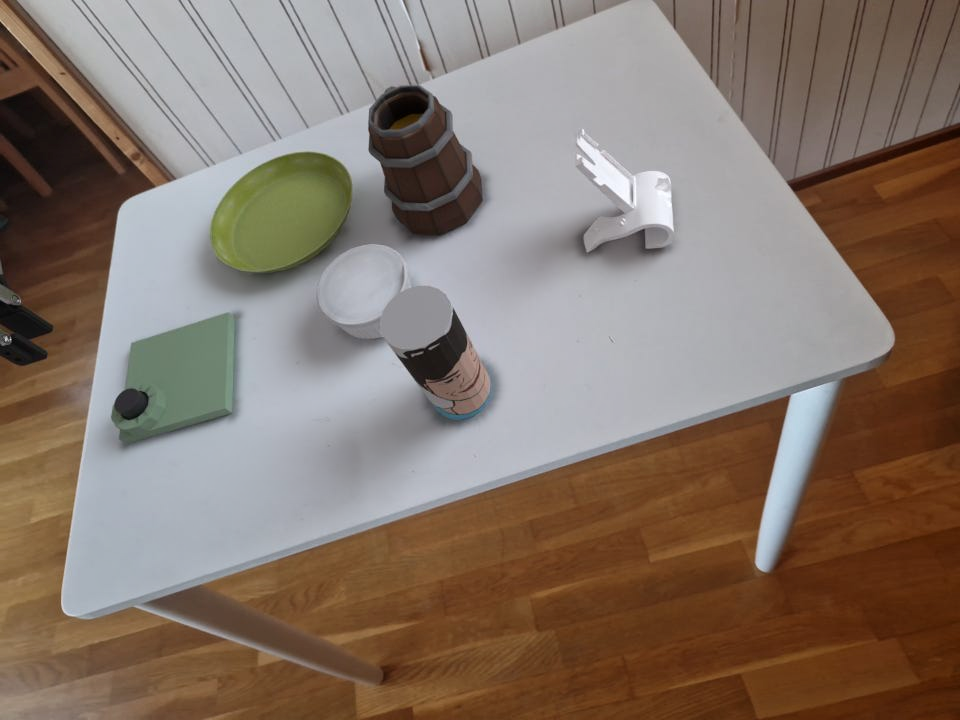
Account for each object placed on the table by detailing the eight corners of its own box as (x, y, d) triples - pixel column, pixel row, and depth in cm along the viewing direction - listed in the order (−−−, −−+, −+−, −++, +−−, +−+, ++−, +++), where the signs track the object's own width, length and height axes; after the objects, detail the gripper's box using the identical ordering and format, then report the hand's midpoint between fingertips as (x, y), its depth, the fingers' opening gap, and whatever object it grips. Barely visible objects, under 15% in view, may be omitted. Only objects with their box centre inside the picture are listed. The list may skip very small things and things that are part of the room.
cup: (453, 432, 70) (403, 363, 57) (420, 389, 73) (366, 316, 61) (504, 392, 70) (466, 317, 58) (469, 352, 74) (426, 272, 61)
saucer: (254, 313, 85) (240, 299, 82) (204, 224, 96) (190, 209, 94) (387, 222, 87) (378, 205, 84) (323, 145, 98) (313, 128, 95)
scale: (232, 413, 78) (217, 402, 76) (126, 444, 80) (108, 435, 78) (235, 317, 86) (221, 304, 83) (138, 348, 88) (121, 336, 85)
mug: (497, 209, 83) (464, 114, 71) (410, 250, 84) (361, 163, 71) (457, 135, 92) (421, 38, 79) (377, 173, 92) (329, 83, 80)
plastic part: (673, 247, 74) (674, 173, 64) (583, 254, 76) (570, 183, 67) (671, 195, 77) (670, 117, 68) (584, 203, 80) (572, 129, 70)
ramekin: (404, 354, 76) (387, 330, 72) (321, 341, 80) (300, 318, 76) (434, 274, 81) (420, 246, 76) (355, 266, 85) (337, 240, 80)
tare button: (147, 414, 78) (137, 408, 77) (123, 422, 78) (112, 415, 77) (149, 391, 80) (139, 384, 78) (126, 398, 80) (115, 392, 79)
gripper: (-160, 171, 56) (21, 294, 72) (-236, 326, 48) (-12, 427, 63) (-85, 143, 55) (82, 274, 71) (-148, 296, 47) (57, 406, 62)
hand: (36, 345), depth 67 cm, fingers closed
